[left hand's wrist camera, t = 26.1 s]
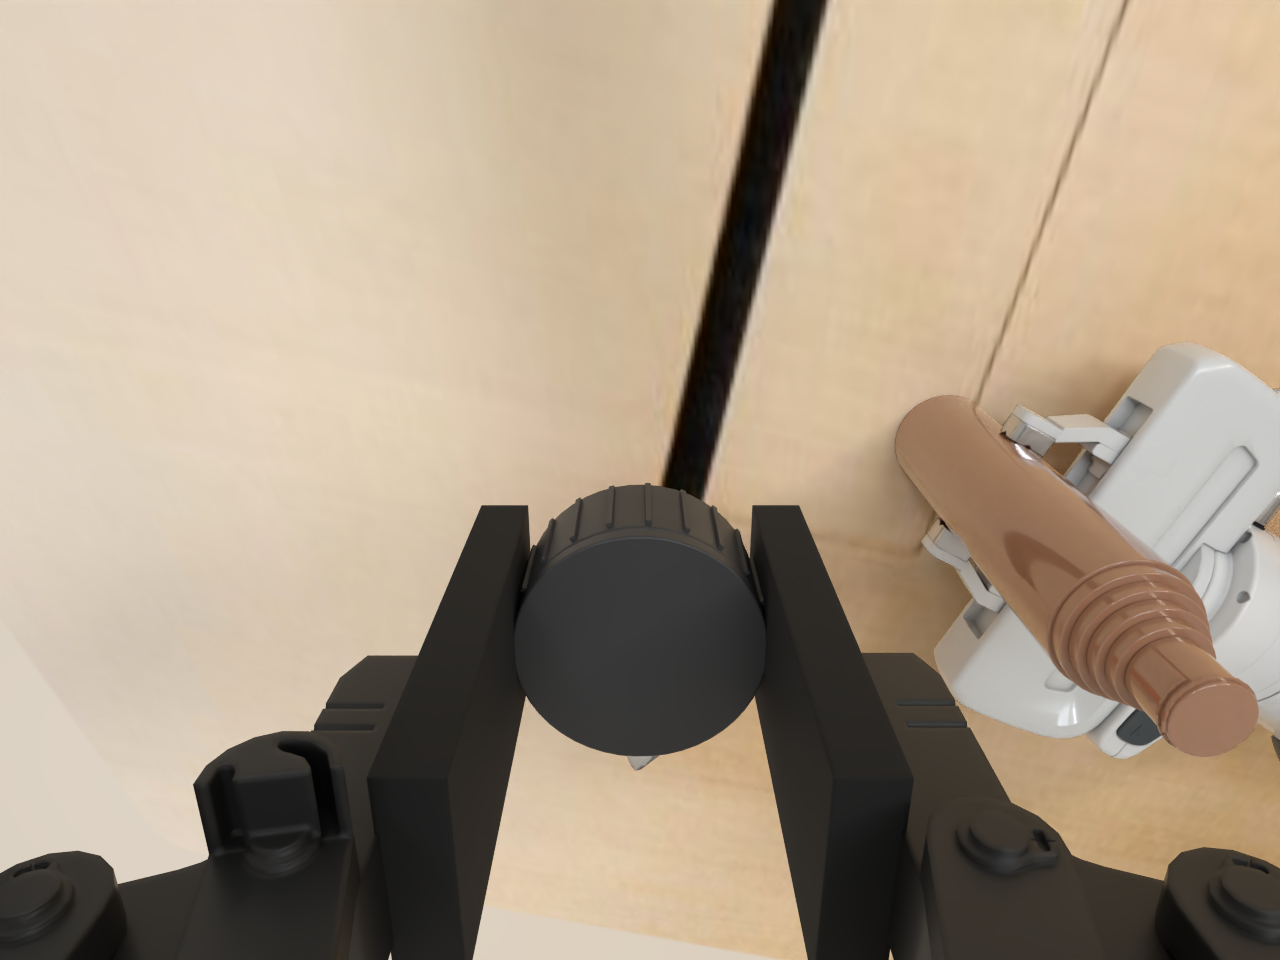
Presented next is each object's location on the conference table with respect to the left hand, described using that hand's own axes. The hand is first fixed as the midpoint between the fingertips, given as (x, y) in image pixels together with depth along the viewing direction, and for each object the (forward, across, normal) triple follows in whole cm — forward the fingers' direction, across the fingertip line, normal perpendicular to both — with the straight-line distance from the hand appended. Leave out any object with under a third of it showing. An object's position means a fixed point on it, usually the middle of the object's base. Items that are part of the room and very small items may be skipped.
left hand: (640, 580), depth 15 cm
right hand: (+26, +16, -8) cm, 31 cm away
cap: (-2, 0, 0) cm, 2 cm away
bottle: (+33, +16, -9) cm, 38 cm away
